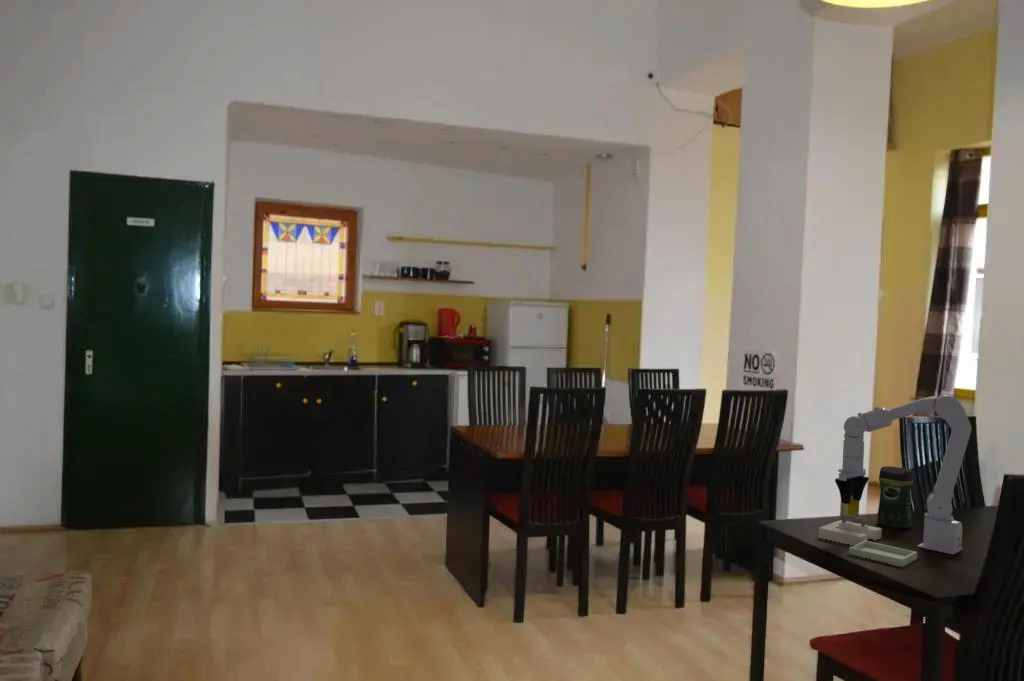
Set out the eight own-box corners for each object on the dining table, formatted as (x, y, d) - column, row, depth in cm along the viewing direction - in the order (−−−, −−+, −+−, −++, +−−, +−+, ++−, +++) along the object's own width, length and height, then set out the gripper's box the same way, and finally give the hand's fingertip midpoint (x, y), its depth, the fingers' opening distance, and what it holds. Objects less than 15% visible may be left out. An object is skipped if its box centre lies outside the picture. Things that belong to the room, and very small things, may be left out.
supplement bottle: (861, 520, 260) (863, 489, 260) (853, 523, 257) (854, 491, 256) (845, 517, 265) (846, 486, 264) (836, 519, 261) (838, 488, 261)
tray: (916, 559, 219) (917, 551, 219) (902, 567, 211) (902, 559, 211) (864, 547, 229) (865, 540, 229) (848, 554, 221) (849, 547, 221)
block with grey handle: (867, 540, 237) (868, 518, 237) (862, 543, 234) (863, 521, 234) (843, 535, 242) (844, 514, 242) (838, 537, 239) (839, 516, 239)
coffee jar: (914, 526, 255) (917, 468, 255) (904, 530, 250) (908, 471, 249) (883, 520, 262) (886, 463, 262) (873, 524, 257) (876, 466, 256)
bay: (881, 538, 240) (881, 528, 239) (861, 547, 229) (861, 537, 229) (839, 529, 248) (840, 519, 248) (818, 537, 238) (819, 527, 237)
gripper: (850, 452, 248) (848, 496, 249) (829, 457, 238) (827, 502, 239) (873, 455, 243) (871, 500, 244) (853, 460, 233) (851, 507, 234)
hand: (851, 501), depth 241 cm, fingers open, 7 cm apart
